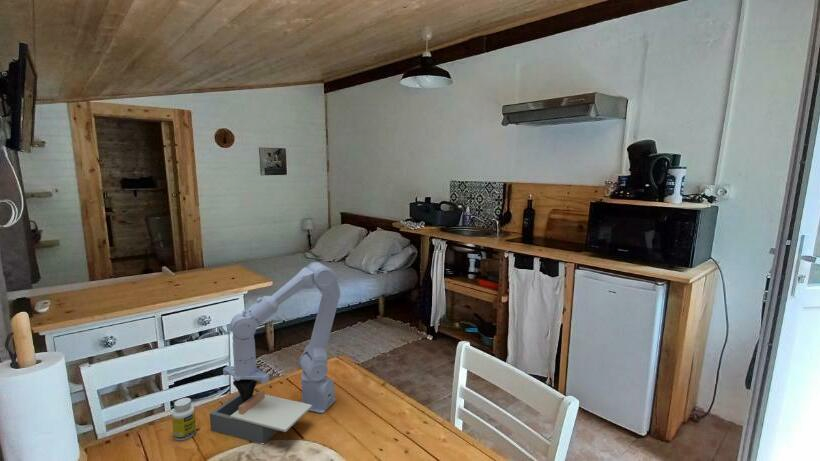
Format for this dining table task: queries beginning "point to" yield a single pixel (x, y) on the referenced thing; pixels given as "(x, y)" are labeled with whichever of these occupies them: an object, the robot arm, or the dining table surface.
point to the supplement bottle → (183, 419)
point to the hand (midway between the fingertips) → (247, 401)
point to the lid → (271, 411)
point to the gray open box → (238, 423)
